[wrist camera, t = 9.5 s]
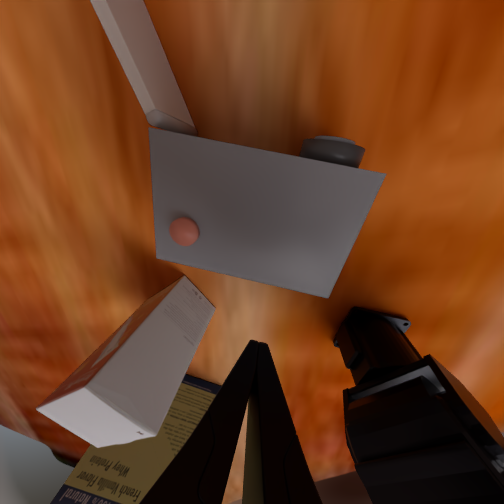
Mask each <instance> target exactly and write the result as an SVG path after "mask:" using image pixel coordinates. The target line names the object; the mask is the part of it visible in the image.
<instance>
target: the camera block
mask: <svg viewBox="0 0 504 504" xmlns="http://www.w3.org/2000/svg"><path fill="white" fill-rule="evenodd" d="M149 144H150V160H151V176H152V193H153V209H154V225H155V241H156V258H157V259H162V260H166V261H170V262H174V263H179V264H183V265H187V266H191V267H196V268H200V269H204V270H209V271H213V272H217V273H221V274H226V275H230V276H234V277H239V278H243V279H247V280H251V281H256V282H260V283H264V284H268V285H273V286H277V287H281V288H286V289H290V290H294V291H298V292H303V293H307V294H311V295H315V296H320V297H324V298H329V296H330V293H331V291H332V289H333V287H334V285H335V283H336V281H337V279H338V276H339V274H340V272H341V270H342V268H343V266H344V264H345V261H346V259H347V257H348V255H349V253H350V251H351V249H352V246H353V244H354V242H355V240H356V238H357V236H358V234H359V231H360V229H361V227H362V225H363V223H364V221H365V219H366V216H367V214H368V212H369V210H370V208H371V206H372V204H373V202H374V199H375V197H376V195H377V193H378V191H379V189H380V187H381V184H382V182H383V180H384V178H385V176H386V174H384V173H379V172H374V171H369V170H364V169H358V167H359V165H360V162H361V160H362V157H363V155H364V152H365V149H364V148H362V147H360V146H357V145H355V142H354V141H351V140H348V139H345V138H340V137H333V136H316V137H315V139H304V140H303V144H302V148H301V152H300V156H299V157H297V156H292V155H287V154H282V153H277V152H272V151H267V150H262V149H256V148H251V147H246V146H241V145H236V144H231V143H226V142H221V141H216V140H211V139H205V138H200V137H195V136H190V135H185V134H180V133H175V132H170V131H165V130H160V129H155V128H149Z"/></svg>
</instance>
